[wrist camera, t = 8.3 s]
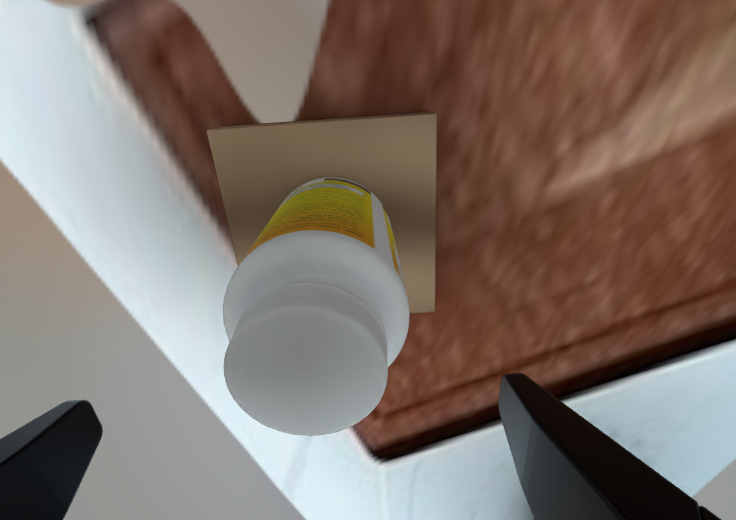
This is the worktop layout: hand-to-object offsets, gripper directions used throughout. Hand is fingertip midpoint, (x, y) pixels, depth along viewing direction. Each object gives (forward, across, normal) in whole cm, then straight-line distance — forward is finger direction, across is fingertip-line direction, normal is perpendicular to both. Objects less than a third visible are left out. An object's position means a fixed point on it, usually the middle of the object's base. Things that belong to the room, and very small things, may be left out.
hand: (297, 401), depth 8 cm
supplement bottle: (+11, 0, 0) cm, 11 cm away
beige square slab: (+13, 0, 0) cm, 13 cm away
